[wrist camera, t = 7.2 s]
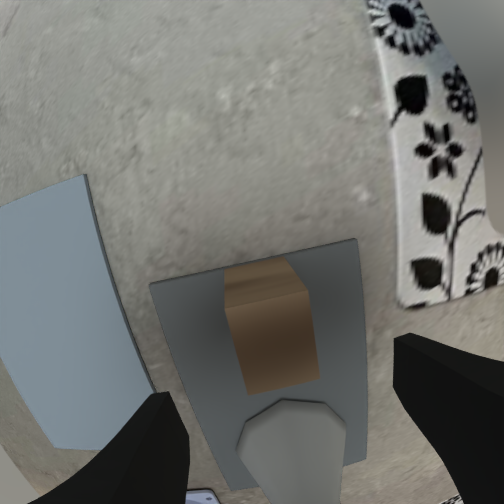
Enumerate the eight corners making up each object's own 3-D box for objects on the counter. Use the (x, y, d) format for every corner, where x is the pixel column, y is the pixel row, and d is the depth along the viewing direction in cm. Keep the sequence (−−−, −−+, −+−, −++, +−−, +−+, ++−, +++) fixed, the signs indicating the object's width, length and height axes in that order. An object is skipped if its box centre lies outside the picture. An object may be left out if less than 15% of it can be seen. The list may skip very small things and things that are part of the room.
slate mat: (180, 442, 19) (179, 446, 19) (56, 444, 19) (55, 447, 18) (86, 174, 15) (83, 174, 14) (-41, 226, 14) (-44, 228, 14)
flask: (362, 415, 19) (422, 525, 10) (300, 475, 20) (328, 580, 11) (277, 381, 18) (316, 525, 8) (217, 451, 19) (220, 576, 9)
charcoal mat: (364, 455, 21) (387, 503, 16) (230, 487, 21) (233, 540, 15) (354, 238, 17) (405, 264, 11) (150, 283, 16) (120, 328, 11)
